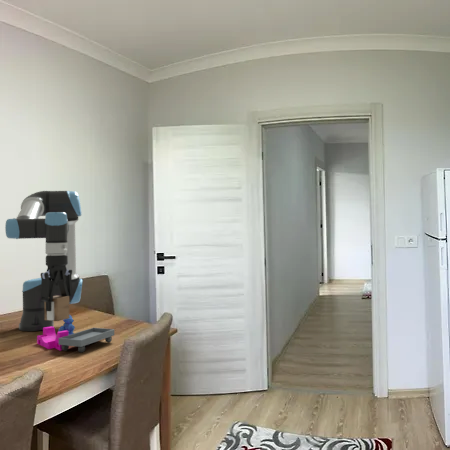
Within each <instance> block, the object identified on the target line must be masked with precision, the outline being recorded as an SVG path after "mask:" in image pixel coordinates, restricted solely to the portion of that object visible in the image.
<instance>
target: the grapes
mask: <svg viewBox="0 0 450 450" xmlns="http://www.w3.org/2000/svg"><path fill="white" fill-rule="evenodd" d="M62 321H63V322H64V323H63V325H61V326H60V327H59V328H58V332H60V331H68V332H69V335H71V334H74V333H75V332H74V331H75V329H76V327H75V325H74V324H73V322H74V321H75V320H74V319H73V316H72V315H71V314H69V318H68V319H64V320H62Z"/></svg>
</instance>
